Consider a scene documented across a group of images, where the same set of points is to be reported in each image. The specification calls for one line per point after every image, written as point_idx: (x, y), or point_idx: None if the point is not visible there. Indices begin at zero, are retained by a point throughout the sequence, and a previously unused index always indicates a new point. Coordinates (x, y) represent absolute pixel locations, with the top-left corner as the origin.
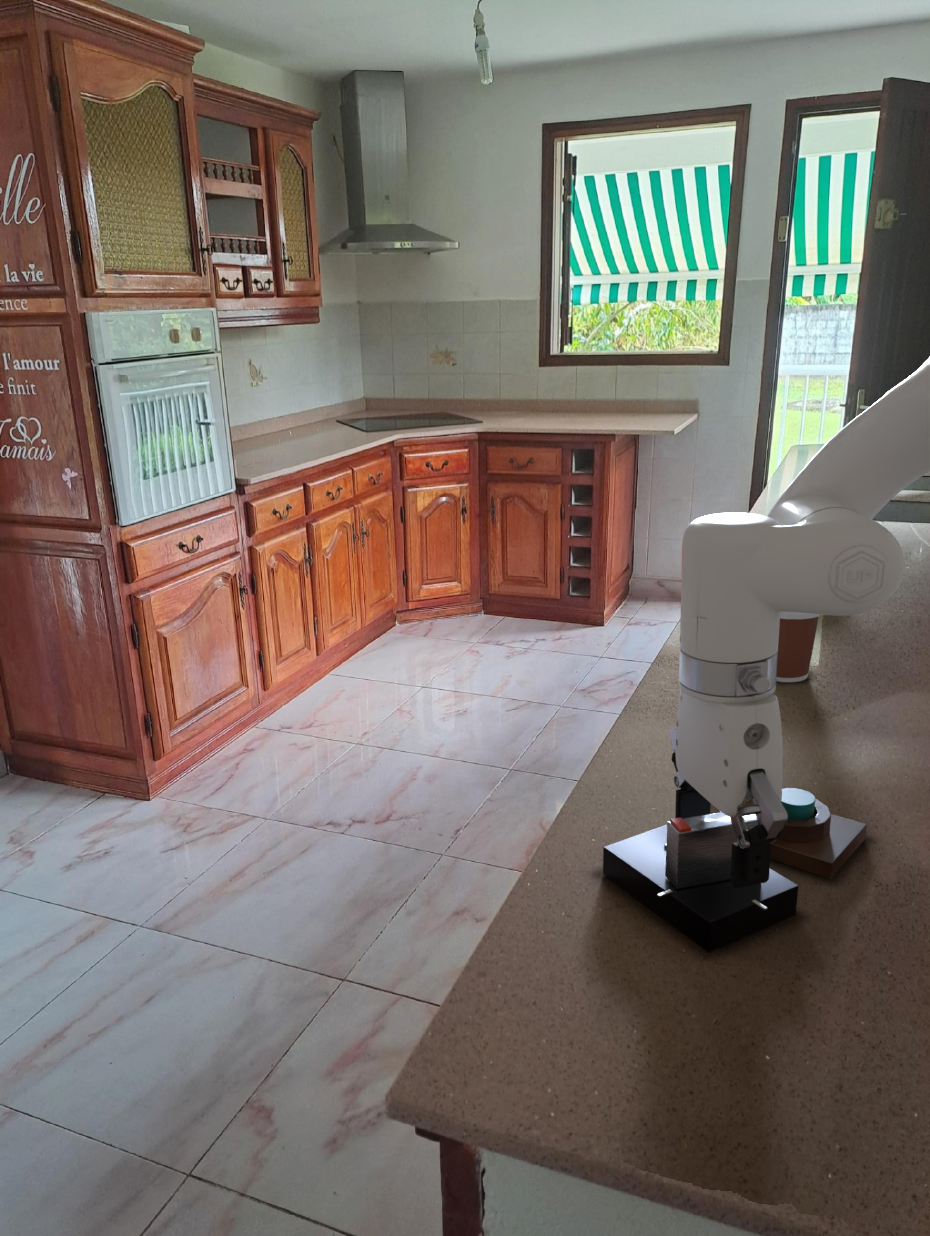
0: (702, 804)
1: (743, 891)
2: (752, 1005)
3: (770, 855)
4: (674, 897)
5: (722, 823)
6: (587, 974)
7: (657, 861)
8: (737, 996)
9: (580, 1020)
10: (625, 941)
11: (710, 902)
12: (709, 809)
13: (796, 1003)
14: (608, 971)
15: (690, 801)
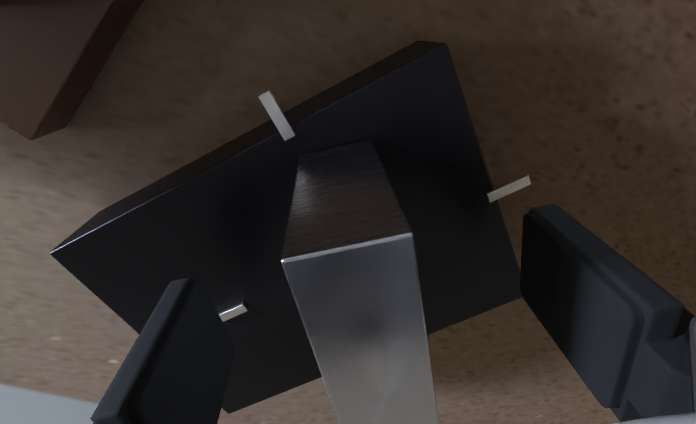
0: (180, 368)
1: (440, 205)
2: (635, 221)
3: (135, 4)
4: (427, 334)
5: (418, 390)
6: (489, 392)
7: (288, 342)
8: (607, 236)
9: (565, 402)
10: (432, 349)
11: (463, 280)
12: (179, 326)
13: (667, 151)
14: (491, 373)
15: (194, 422)
